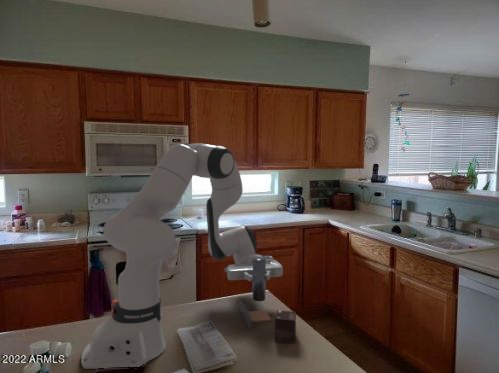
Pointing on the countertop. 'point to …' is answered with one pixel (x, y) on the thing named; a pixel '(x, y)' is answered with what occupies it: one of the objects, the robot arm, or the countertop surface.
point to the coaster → (259, 316)
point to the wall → (246, 315)
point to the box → (285, 326)
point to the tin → (259, 278)
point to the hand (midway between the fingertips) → (259, 278)
